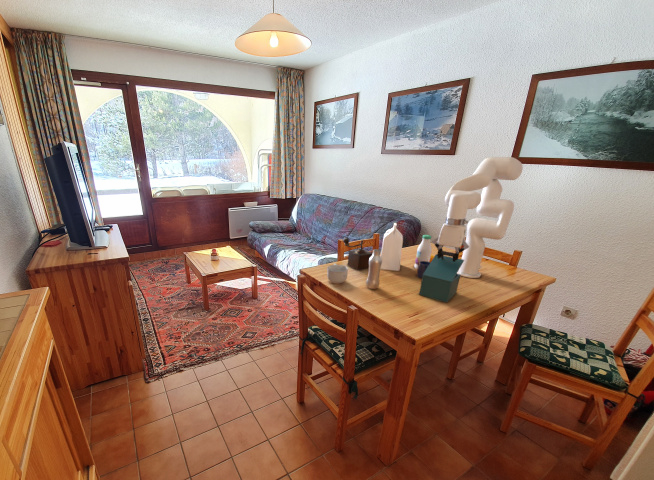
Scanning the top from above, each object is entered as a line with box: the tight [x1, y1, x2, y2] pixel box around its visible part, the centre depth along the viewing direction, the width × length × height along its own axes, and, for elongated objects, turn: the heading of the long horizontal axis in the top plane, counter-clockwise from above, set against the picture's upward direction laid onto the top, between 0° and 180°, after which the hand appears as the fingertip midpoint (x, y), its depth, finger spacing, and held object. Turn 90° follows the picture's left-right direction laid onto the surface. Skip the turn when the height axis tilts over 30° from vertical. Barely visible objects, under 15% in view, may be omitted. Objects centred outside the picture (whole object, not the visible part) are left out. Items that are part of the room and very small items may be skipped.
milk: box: [380, 222, 404, 272], centre depth 182 cm, size 12×12×26 cm
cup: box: [416, 261, 431, 279], centre depth 171 cm, size 7×7×8 cm
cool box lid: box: [423, 250, 464, 283], centre depth 144 cm, size 16×13×5 cm
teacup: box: [326, 263, 349, 284], centre depth 165 cm, size 14×11×8 cm
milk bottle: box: [413, 234, 433, 270], centre depth 181 cm, size 8×8×20 cm
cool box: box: [419, 274, 462, 304], centre depth 149 cm, size 15×13×10 cm
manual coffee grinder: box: [342, 237, 373, 271], centre depth 183 cm, size 16×11×18 cm
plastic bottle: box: [365, 248, 382, 290], centre depth 154 cm, size 6×7×20 cm
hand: (446, 258), depth 146 cm, fingers closed on cool box lid, 6 cm apart
